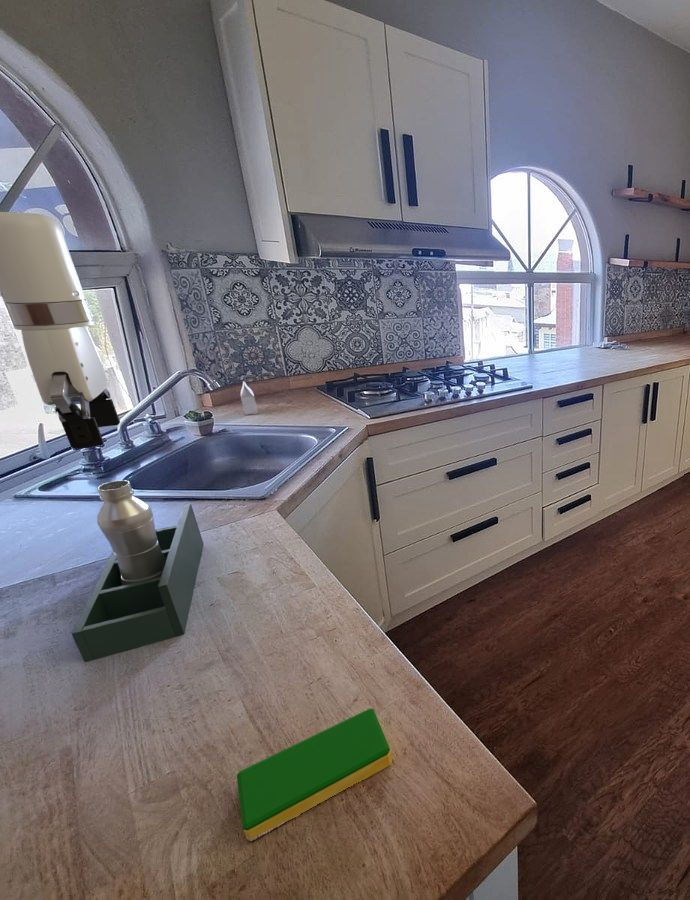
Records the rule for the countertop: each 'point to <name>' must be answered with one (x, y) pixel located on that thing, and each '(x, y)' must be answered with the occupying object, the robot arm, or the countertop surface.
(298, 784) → the dish sponge
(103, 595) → the box
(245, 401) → the white gabled block
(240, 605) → the countertop surface
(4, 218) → the robot arm
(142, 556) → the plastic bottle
